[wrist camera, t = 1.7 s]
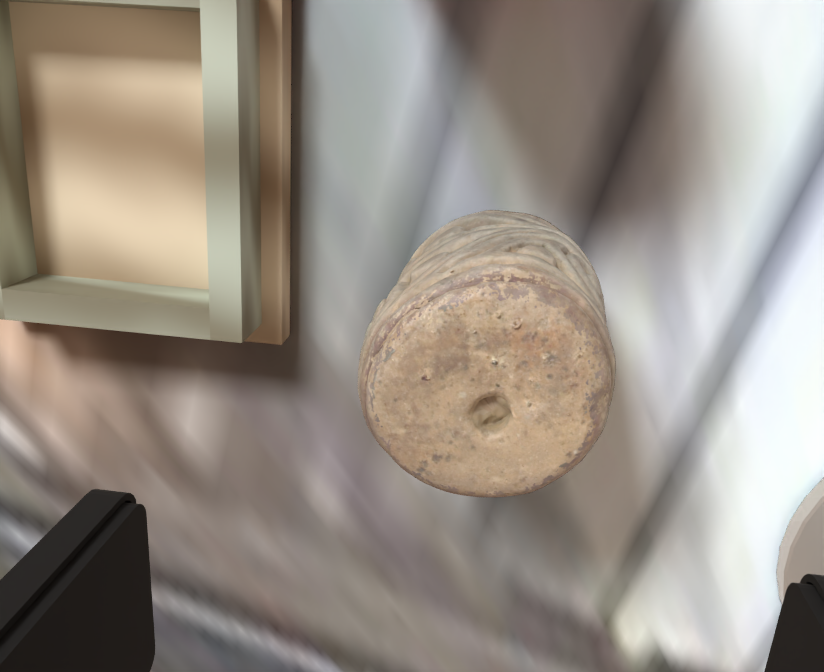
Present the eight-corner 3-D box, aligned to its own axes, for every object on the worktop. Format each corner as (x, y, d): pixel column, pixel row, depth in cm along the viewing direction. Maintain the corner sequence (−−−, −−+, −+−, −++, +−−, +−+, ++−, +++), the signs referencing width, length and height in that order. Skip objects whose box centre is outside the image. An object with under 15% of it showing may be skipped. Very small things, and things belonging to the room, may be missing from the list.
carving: (623, 278, 29) (693, 408, 18) (473, 397, 31) (451, 579, 20) (512, 151, 28) (511, 203, 17) (366, 284, 30) (279, 408, 19)
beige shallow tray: (289, 335, 31) (263, 365, 28) (14, 308, 32) (-42, 334, 29) (291, -43, 27) (260, -60, 23) (-30, -59, 28) (-102, -76, 25)
